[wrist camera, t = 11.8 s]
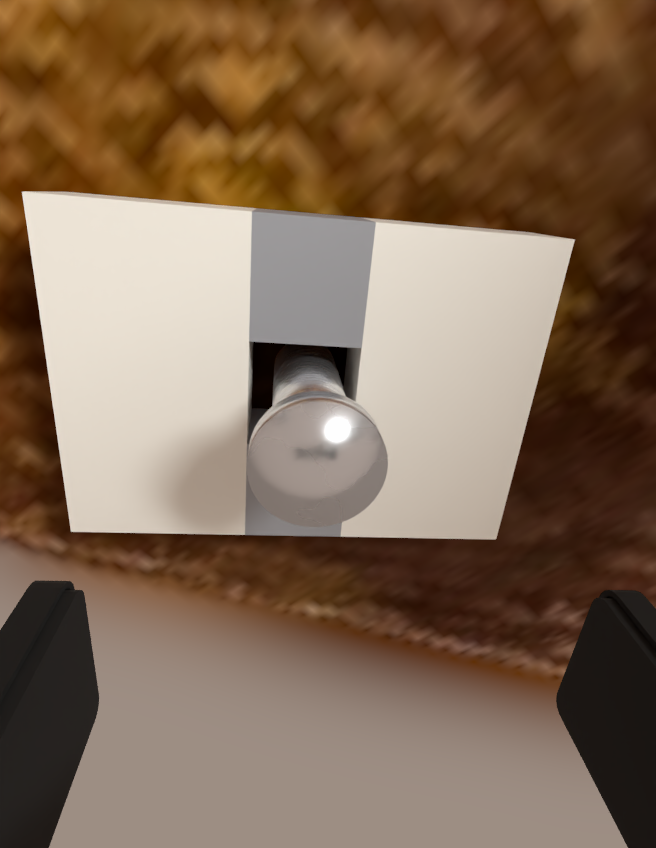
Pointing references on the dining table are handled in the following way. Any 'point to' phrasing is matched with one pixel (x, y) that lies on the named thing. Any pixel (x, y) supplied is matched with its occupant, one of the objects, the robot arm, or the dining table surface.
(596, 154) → the dining table surface
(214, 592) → the dining table surface
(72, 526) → the clevis block
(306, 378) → the steel pin
